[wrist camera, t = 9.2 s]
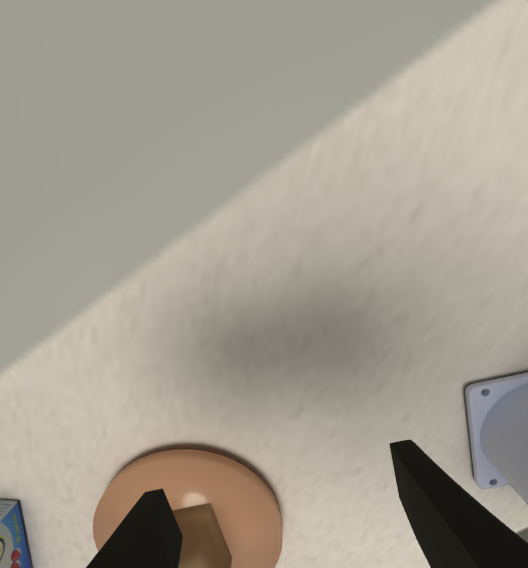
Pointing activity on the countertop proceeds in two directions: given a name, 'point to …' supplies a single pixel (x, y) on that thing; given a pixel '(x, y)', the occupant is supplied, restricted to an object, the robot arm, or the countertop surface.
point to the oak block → (201, 538)
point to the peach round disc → (200, 500)
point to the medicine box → (12, 537)
